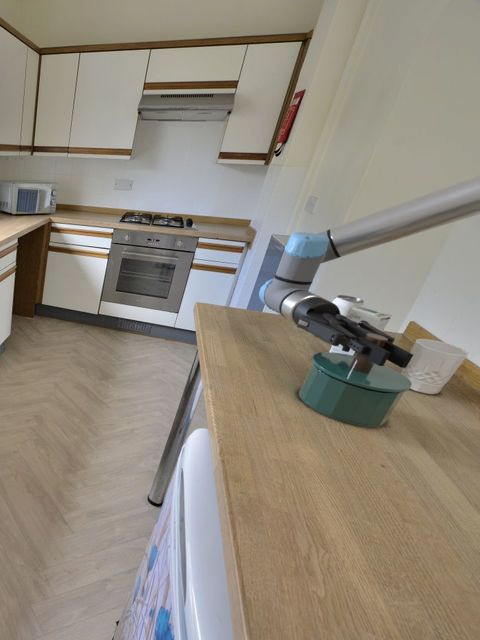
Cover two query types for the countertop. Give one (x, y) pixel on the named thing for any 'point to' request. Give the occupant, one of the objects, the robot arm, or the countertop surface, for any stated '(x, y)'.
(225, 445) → the countertop surface
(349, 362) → the bowl lid
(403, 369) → the white cup
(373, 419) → the bowl
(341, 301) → the can
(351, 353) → the syrup box
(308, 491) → the countertop surface
